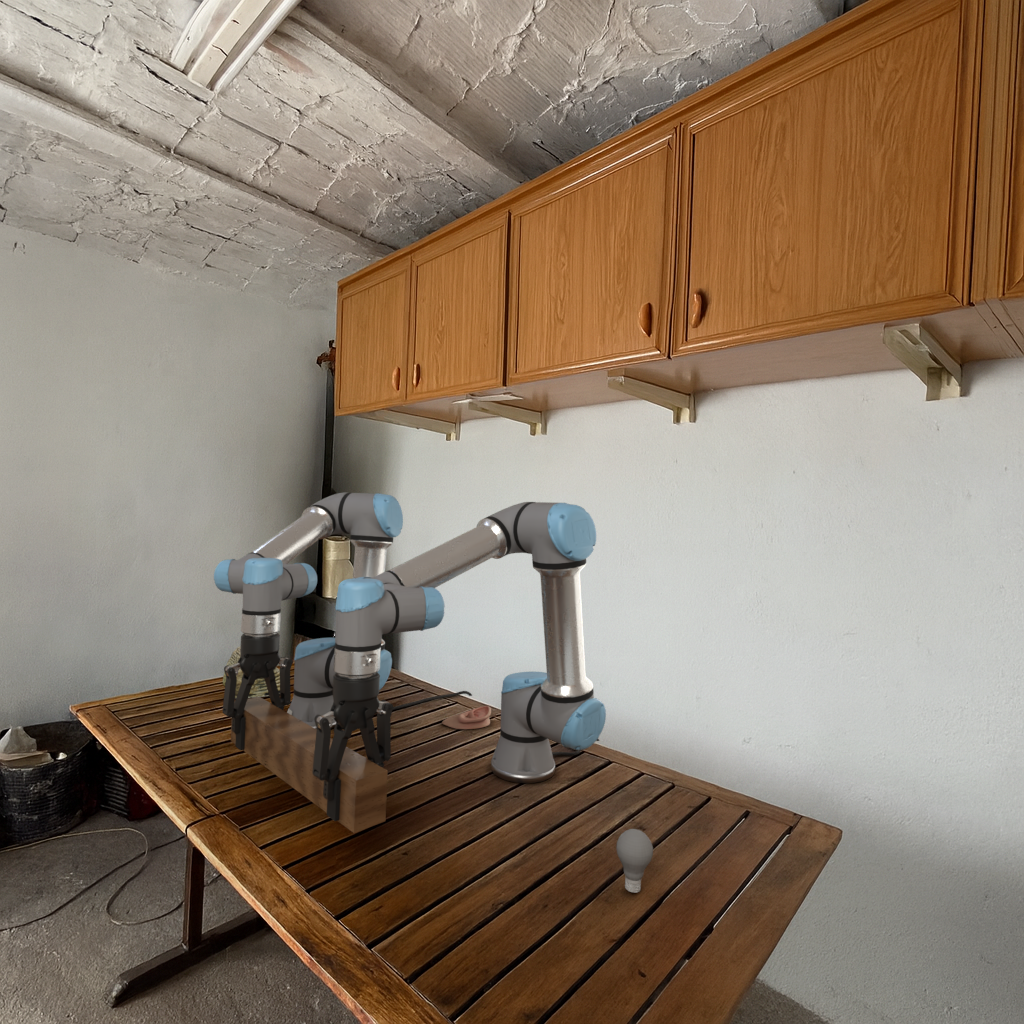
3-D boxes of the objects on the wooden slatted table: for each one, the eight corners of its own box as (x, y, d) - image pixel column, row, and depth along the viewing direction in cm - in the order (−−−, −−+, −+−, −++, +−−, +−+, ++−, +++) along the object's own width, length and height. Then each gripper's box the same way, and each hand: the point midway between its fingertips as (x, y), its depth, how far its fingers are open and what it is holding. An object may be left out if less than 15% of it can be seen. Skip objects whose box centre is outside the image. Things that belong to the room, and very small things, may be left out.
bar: (230, 741, 133) (232, 701, 133) (258, 734, 138) (259, 696, 138) (353, 833, 99) (356, 780, 99) (385, 821, 103) (387, 770, 103)
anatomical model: (438, 712, 177) (451, 700, 188) (438, 726, 177) (450, 713, 188) (484, 718, 174) (494, 705, 185) (484, 732, 174) (493, 718, 185)
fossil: (218, 695, 195) (220, 647, 195) (278, 685, 208) (279, 640, 207) (228, 703, 189) (230, 653, 188) (289, 692, 201) (290, 645, 201)
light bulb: (610, 879, 108) (613, 822, 108) (644, 879, 109) (647, 822, 109) (619, 902, 102) (622, 840, 102) (655, 901, 103) (658, 840, 103)
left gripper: (220, 642, 122) (215, 761, 122) (311, 631, 135) (307, 738, 136) (206, 635, 127) (201, 749, 127) (295, 625, 141) (290, 728, 141)
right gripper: (314, 687, 96) (308, 839, 96) (417, 668, 109) (411, 802, 109) (292, 676, 101) (286, 820, 101) (392, 659, 114) (386, 787, 115)
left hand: (256, 743), depth 131 cm, fingers closed on bar, 6 cm apart
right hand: (351, 810), depth 105 cm, fingers closed on bar, 6 cm apart
